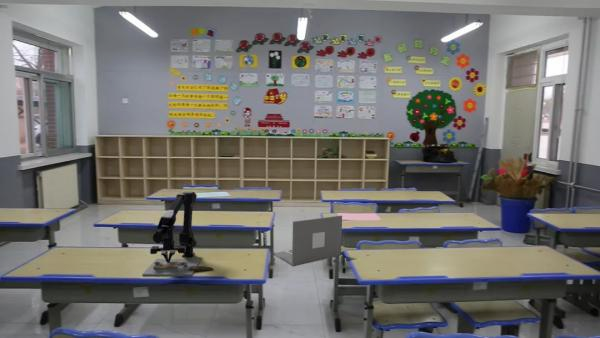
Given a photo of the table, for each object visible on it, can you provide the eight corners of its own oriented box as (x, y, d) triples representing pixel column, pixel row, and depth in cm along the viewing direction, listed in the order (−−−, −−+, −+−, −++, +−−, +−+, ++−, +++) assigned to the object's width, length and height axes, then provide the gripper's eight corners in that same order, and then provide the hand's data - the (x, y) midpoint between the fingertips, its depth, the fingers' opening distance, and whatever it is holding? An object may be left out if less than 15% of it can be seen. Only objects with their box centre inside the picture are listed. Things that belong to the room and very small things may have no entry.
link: (153, 269, 229) (153, 264, 228) (153, 267, 232) (153, 261, 232) (187, 266, 235) (186, 261, 235) (186, 263, 239) (186, 258, 238)
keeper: (180, 267, 233) (180, 261, 233) (185, 267, 233) (185, 261, 233) (177, 271, 227) (177, 265, 227) (183, 271, 227) (183, 265, 227)
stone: (189, 271, 228) (189, 267, 228) (189, 268, 233) (189, 264, 232) (213, 271, 231) (213, 268, 231) (213, 268, 236) (213, 264, 235)
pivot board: (156, 260, 247) (156, 258, 247) (200, 260, 248) (200, 259, 248) (142, 275, 222) (142, 274, 222) (191, 276, 223) (191, 274, 223)
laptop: (317, 247, 280) (318, 207, 277) (341, 258, 258) (342, 215, 255) (271, 255, 262) (272, 213, 259) (293, 268, 240) (293, 222, 237)
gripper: (186, 232, 243) (186, 258, 245) (153, 233, 239) (153, 259, 242) (184, 239, 232) (185, 265, 234) (149, 239, 229) (150, 266, 231)
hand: (168, 264), depth 236 cm, fingers closed
